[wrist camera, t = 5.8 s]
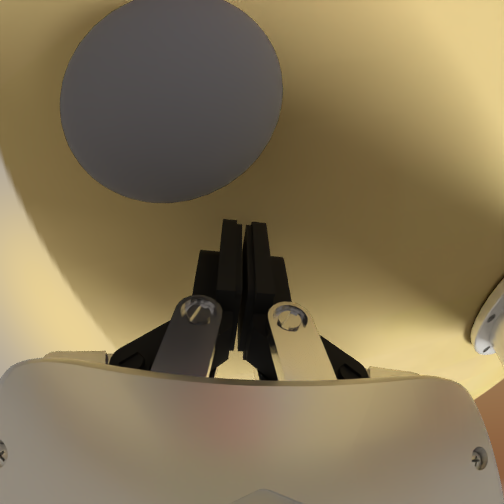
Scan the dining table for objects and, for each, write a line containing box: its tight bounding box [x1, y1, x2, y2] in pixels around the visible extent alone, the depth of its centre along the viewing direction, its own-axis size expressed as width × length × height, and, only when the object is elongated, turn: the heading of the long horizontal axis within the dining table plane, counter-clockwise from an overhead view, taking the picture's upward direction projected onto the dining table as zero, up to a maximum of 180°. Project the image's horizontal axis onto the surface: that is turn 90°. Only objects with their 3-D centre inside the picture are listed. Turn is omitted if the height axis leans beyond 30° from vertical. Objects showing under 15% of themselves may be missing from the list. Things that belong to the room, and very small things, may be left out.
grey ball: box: [60, 0, 283, 203], centre depth 7 cm, size 6×6×6 cm
